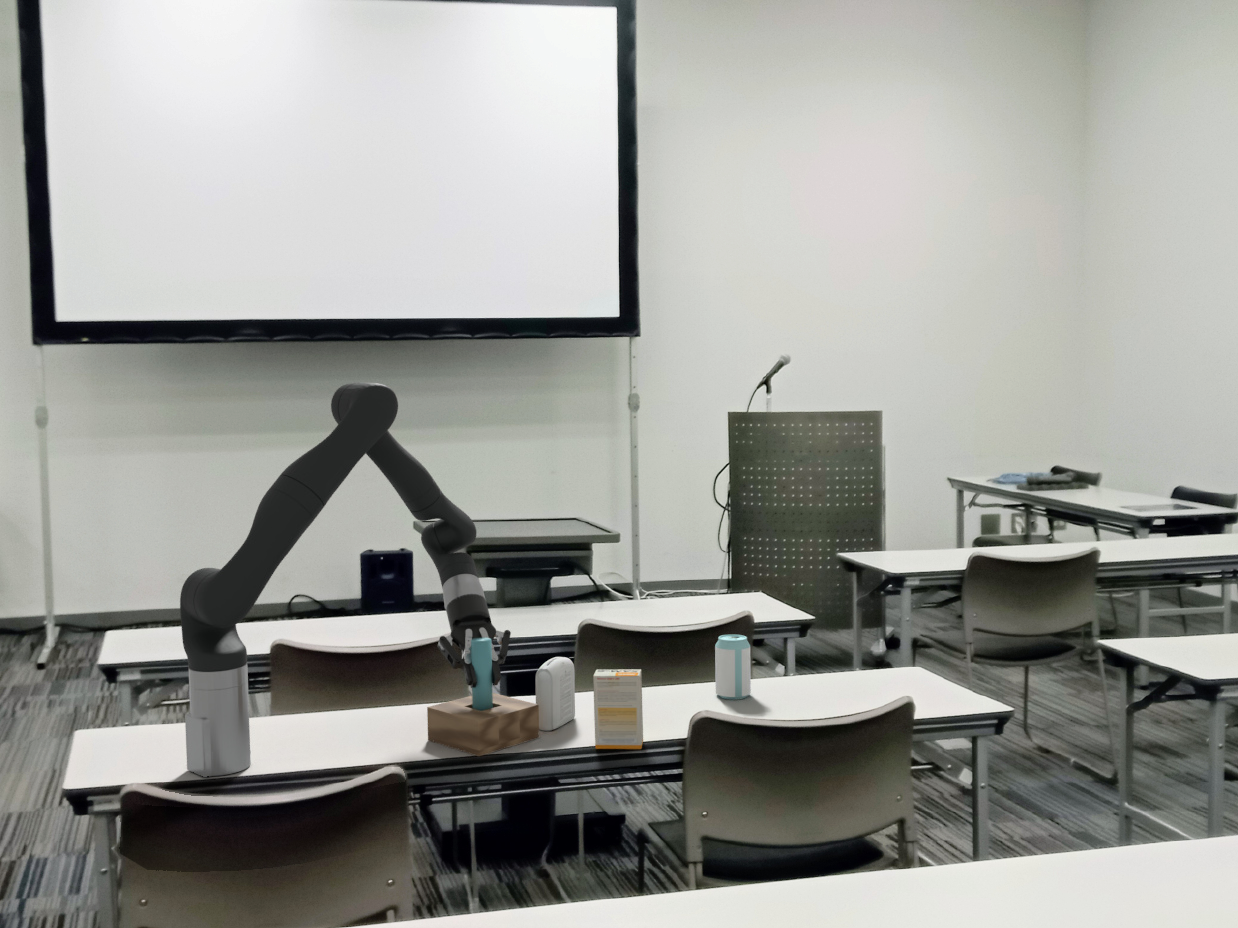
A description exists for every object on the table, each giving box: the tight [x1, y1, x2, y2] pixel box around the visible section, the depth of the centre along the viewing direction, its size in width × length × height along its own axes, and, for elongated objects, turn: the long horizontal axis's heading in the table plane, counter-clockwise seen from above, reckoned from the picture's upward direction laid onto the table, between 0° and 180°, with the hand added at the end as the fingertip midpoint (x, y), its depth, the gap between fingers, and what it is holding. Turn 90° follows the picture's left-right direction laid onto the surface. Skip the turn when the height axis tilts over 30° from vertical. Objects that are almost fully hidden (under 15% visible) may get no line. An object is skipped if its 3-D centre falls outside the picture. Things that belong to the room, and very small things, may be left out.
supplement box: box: [592, 668, 644, 750], centre depth 201 cm, size 8×5×13 cm, turn 84°
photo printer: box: [535, 656, 576, 732], centre depth 215 cm, size 10×4×12 cm, turn 157°
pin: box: [471, 638, 494, 711], centre depth 205 cm, size 4×4×15 cm
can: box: [714, 634, 752, 700], centre depth 233 cm, size 7×7×12 cm
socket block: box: [426, 692, 540, 757], centre depth 206 cm, size 14×14×6 cm
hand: (485, 683), depth 204 cm, fingers closed on pin, 3 cm apart
